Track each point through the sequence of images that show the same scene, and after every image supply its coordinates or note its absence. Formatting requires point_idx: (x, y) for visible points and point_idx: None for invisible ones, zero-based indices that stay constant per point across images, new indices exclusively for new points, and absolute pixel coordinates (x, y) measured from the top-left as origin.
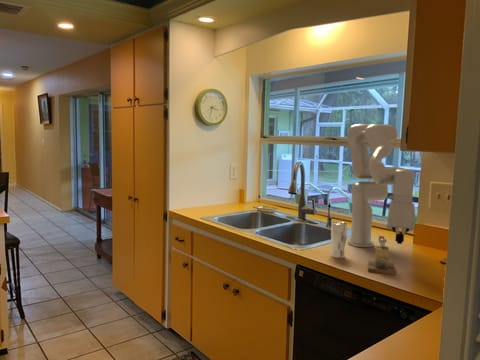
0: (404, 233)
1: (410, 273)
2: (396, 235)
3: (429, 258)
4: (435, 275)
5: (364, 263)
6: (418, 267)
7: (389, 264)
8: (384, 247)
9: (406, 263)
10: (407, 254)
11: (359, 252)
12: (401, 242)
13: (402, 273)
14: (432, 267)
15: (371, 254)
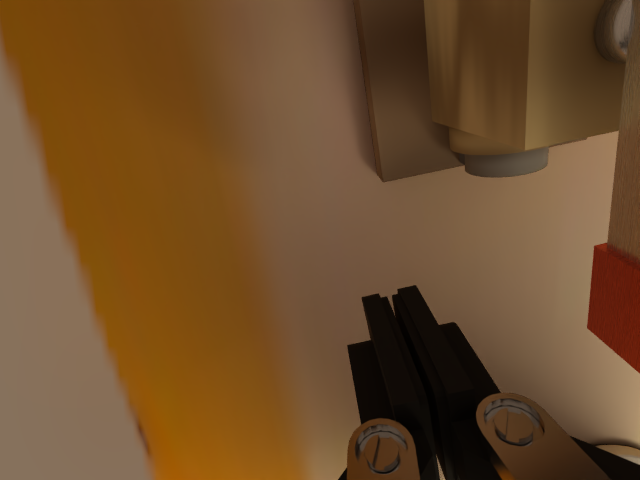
0: (360, 457)
1: (238, 88)
2: (490, 385)
3: (207, 459)
4: (68, 154)
5: (592, 140)
6: (221, 271)
7: (415, 136)
8: (608, 6)
9: (307, 309)
10: (327, 461)
11: (602, 361)
12: (370, 307)
13: (294, 46)
14: (145, 320)
15: (528, 362)
